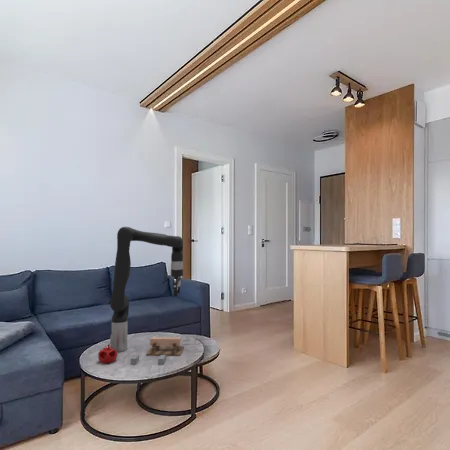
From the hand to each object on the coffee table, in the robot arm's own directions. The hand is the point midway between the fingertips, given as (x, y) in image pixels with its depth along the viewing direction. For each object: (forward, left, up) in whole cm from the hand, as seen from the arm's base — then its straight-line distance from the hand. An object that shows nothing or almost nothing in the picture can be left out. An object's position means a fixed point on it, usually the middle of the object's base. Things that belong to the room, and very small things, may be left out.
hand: (176, 294), depth 209 cm
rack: (-6, -5, -33) cm, 34 cm away
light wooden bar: (-6, -5, -29) cm, 30 cm away
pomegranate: (-35, -21, -33) cm, 53 cm away
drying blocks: (-12, -22, -33) cm, 42 cm away
